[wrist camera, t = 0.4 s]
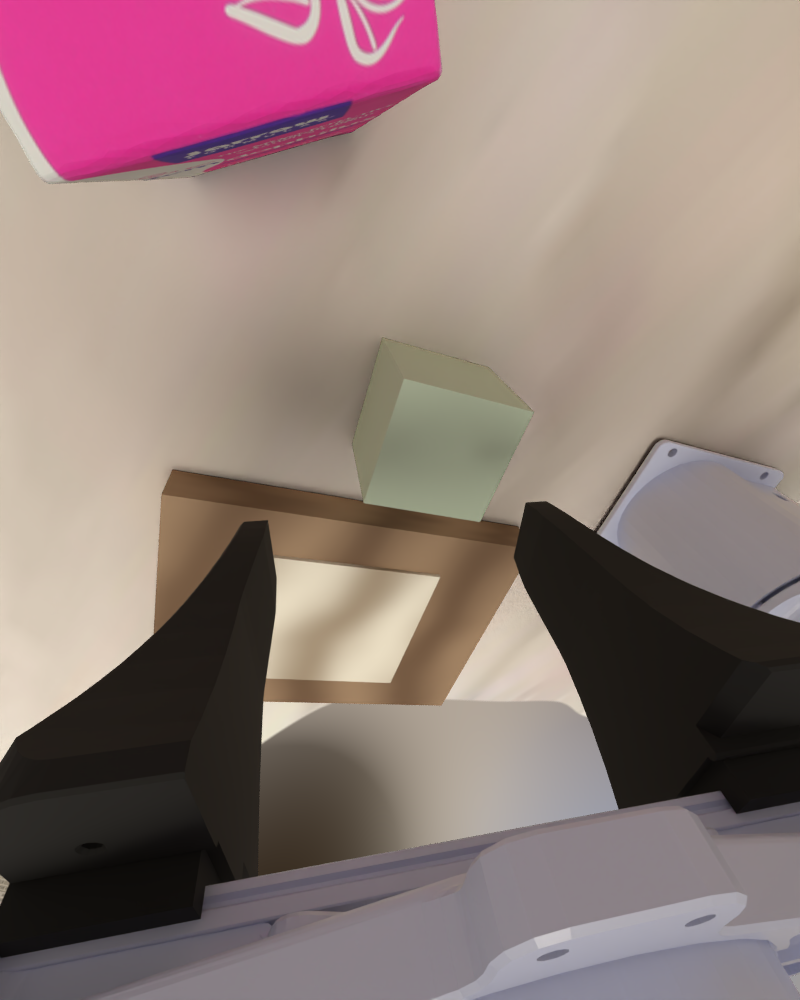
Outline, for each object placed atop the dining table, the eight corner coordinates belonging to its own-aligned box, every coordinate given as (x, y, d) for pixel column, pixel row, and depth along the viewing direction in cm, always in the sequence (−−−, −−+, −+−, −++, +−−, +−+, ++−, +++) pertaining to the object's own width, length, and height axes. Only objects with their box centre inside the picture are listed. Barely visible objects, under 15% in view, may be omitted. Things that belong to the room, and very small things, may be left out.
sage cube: (488, 366, 21) (534, 412, 17) (448, 462, 23) (480, 522, 19) (382, 337, 19) (403, 378, 15) (351, 442, 22) (363, 503, 17)
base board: (518, 526, 26) (533, 551, 24) (434, 679, 33) (442, 708, 31) (172, 469, 21) (160, 497, 19) (158, 668, 28) (149, 702, 26)
